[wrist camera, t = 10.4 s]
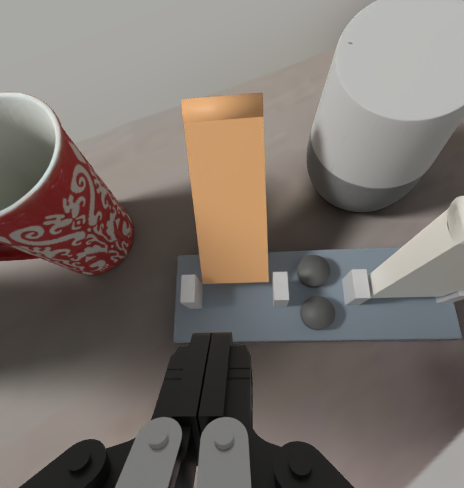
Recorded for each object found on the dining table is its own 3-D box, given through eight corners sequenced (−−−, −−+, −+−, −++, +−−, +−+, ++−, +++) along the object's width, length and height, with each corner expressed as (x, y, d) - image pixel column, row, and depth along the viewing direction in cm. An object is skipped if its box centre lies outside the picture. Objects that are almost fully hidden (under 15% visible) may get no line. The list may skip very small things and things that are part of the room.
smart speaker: (289, 203, 30) (307, 82, 17) (318, 126, 33) (353, -32, 19) (394, 235, 28) (508, 125, 15) (416, 150, 31) (530, -8, 17)
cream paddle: (368, 300, 23) (482, 233, 11) (364, 275, 24) (468, 186, 11) (442, 298, 22) (647, 227, 10) (436, 273, 23) (624, 178, 11)
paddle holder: (179, 343, 27) (161, 339, 22) (183, 262, 29) (167, 243, 24) (447, 339, 25) (489, 335, 20) (428, 253, 27) (461, 231, 22)
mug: (127, 181, 33) (40, 68, 20) (158, 257, 29) (77, 180, 17) (10, 234, 32) (-158, 152, 19) (29, 318, 29) (-158, 286, 16)
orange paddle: (202, 284, 24) (180, 98, 20) (205, 274, 26) (186, 99, 21) (268, 282, 24) (262, 91, 19) (267, 271, 26) (262, 93, 21)
